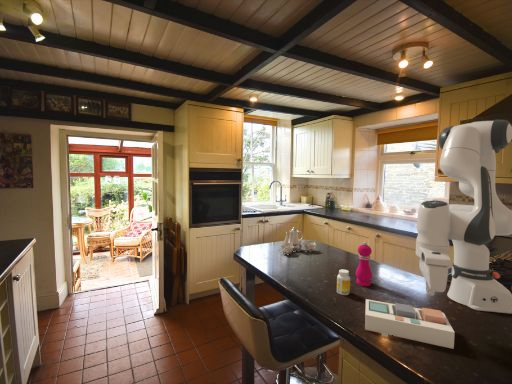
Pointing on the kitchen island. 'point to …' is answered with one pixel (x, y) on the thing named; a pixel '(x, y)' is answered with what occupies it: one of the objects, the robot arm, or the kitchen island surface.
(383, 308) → the teal key
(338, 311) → the kitchen island surface
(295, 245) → the chinaware
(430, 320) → the terracotta key
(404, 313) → the slate key
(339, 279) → the supplement bottle
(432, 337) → the three-slot colour tray
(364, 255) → the pepper mill
